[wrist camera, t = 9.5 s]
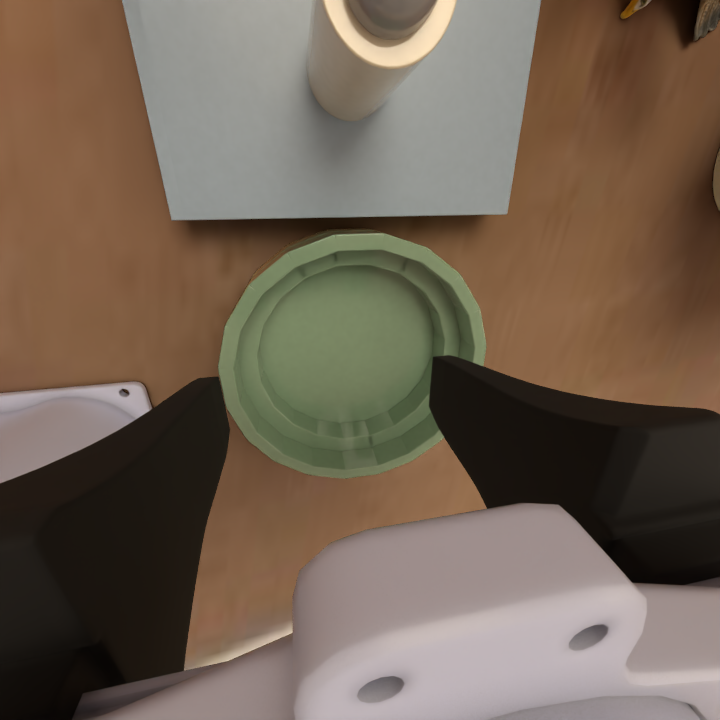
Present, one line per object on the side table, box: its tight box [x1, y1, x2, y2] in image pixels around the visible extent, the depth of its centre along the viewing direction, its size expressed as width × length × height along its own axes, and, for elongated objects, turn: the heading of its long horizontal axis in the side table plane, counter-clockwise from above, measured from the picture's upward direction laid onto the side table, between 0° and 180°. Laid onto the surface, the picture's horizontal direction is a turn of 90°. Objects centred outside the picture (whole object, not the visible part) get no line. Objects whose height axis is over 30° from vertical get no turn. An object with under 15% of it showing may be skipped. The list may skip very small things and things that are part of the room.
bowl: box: [218, 228, 486, 479], centre depth 19 cm, size 14×14×4 cm
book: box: [122, 0, 541, 221], centre depth 15 cm, size 16×11×2 cm
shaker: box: [306, 0, 457, 121], centre depth 10 cm, size 4×4×8 cm
